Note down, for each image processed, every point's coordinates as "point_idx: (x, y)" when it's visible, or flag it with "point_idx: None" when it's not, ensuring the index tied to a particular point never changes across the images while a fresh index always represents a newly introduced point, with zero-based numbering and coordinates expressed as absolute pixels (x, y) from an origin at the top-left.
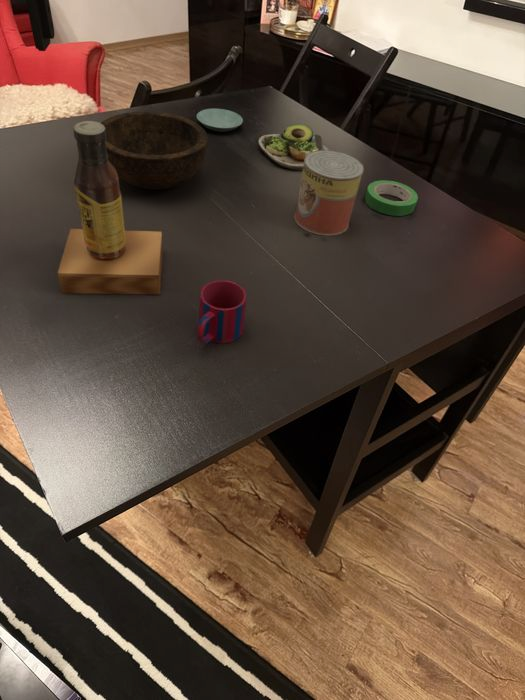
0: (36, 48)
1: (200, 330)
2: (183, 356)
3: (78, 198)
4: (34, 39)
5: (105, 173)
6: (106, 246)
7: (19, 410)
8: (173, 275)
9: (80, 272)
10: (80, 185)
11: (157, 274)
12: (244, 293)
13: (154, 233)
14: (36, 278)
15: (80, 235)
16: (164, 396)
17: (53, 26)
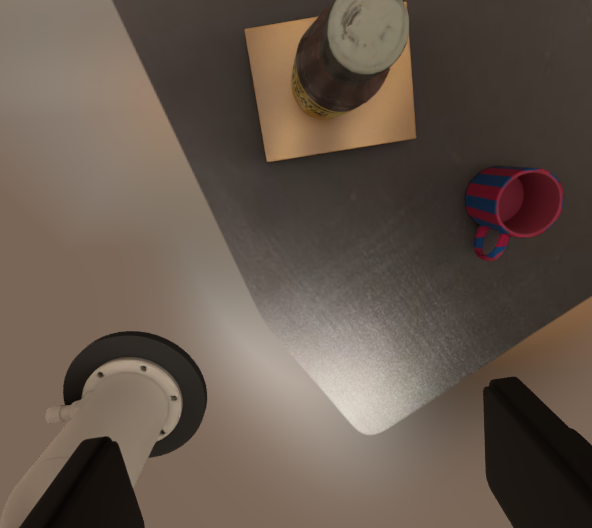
0: (489, 482)
1: (487, 260)
2: (446, 253)
3: (307, 99)
4: (505, 511)
5: (376, 77)
6: (337, 116)
7: (288, 346)
8: (419, 86)
9: (299, 154)
10: (320, 99)
11: (414, 137)
12: (561, 196)
13: None
14: (220, 133)
15: (267, 48)
16: (429, 312)
17: (584, 440)
